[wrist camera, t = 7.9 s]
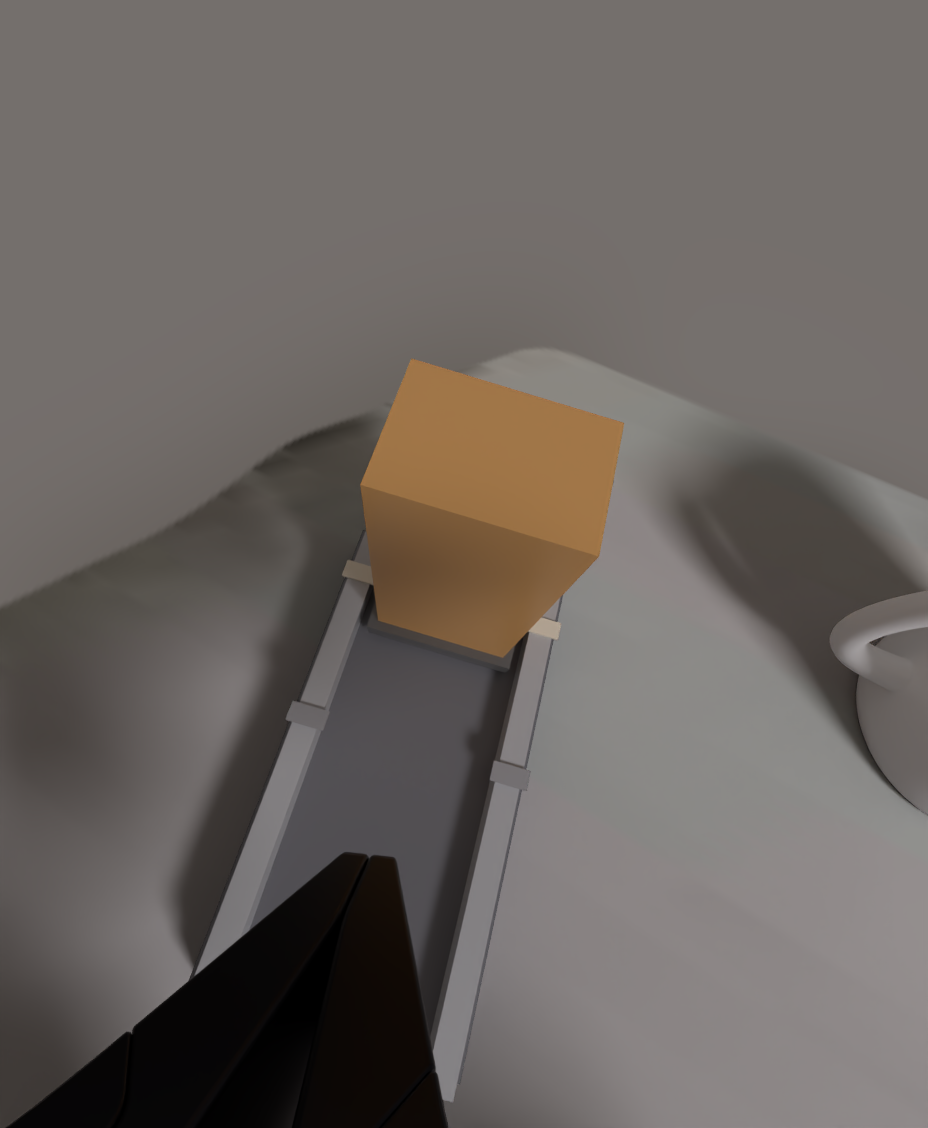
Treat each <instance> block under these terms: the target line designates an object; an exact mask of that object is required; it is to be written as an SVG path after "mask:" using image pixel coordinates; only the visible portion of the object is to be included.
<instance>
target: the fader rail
mask: <svg viewBox="0 0 928 1128" xmlns="http://www.w3.org/2000/svg"><path fill="white" fill-rule="evenodd" d="M342 576H343V577H345V579H344V581H343V584H342V586H341V589H340V591H339V594H338V597H337V599H336V602H335V604H334V607H333V610H332V612H331V615H330V617H329V620H328V622H327V625H326V628H325V630H324V633H323V635H322V638H321V640H320V643H319V646H318V648H317V651H316V653H315V656H314V659H313V661H312V664H311V666H310V669H309V671H308V674H307V677H306V679H305V682H304V684H303V687H302V690H301V692H300V695H299V697H298V700H297V702H296V701H292V704H291V706H290V709H289V711H288V714H287V716H286V719H285V720H287V721H289V723H288V726H287V728H286V731H285V733H284V736H283V739H282V741H281V744H280V746H279V749H278V752H277V754H276V757H275V759H274V762H273V764H272V767H271V770H270V772H269V775H268V777H267V780H266V782H265V785H264V788H263V790H262V793H261V795H260V798H259V801H258V803H257V806H256V808H255V811H254V813H253V816H252V819H251V821H250V824H249V826H248V829H247V832H246V834H245V837H244V839H243V842H242V844H241V847H240V850H239V852H238V855H237V857H236V860H235V863H234V865H233V868H232V870H231V873H230V875H229V878H228V881H227V883H226V886H225V888H224V891H223V894H222V896H221V899H220V901H219V904H218V906H217V909H216V912H215V914H214V917H213V919H212V922H211V925H210V927H209V930H208V932H207V935H206V937H205V940H204V943H203V945H202V948H201V950H200V953H199V955H198V958H197V961H196V963H195V966H194V968H193V971H192V974H191V976H190V979H192V978H193V977H194V976H195V975H196V974H198V973H199V972H200V971H201V970H202V969H204V968H205V967H206V966H207V965H208V964H210V963H211V962H212V961H213V960H214V959H216V958H217V957H218V956H219V955H220V954H222V953H223V952H224V951H225V950H226V949H228V948H229V947H230V946H231V945H232V944H233V943H235V942H236V941H237V940H238V939H239V938H241V937H242V936H243V935H244V934H245V933H247V932H248V931H249V930H250V929H251V928H253V927H254V926H255V925H256V924H257V923H259V922H260V921H261V920H262V919H263V918H265V917H266V916H267V915H268V914H269V913H271V912H272V911H273V910H274V909H275V908H277V907H278V906H279V905H280V904H281V903H283V902H284V901H285V900H286V899H287V898H289V897H290V896H291V895H292V894H293V893H295V892H296V891H297V890H298V889H299V888H301V887H302V886H303V885H304V884H305V883H307V882H308V881H309V880H310V879H311V878H313V877H314V876H315V875H316V874H317V873H319V872H320V871H321V870H322V869H323V868H325V867H326V866H327V865H328V864H329V863H331V862H332V861H333V860H334V859H335V858H336V857H338V856H339V855H340V854H342V853H344V852H354V853H363V854H367V855H368V856H369V858H370V857H371V856H372V855H382V856H391V857H394V858H396V860H397V865H398V870H399V875H400V880H401V886H402V891H403V896H404V902H405V907H406V912H407V918H408V923H409V928H410V933H411V939H412V944H413V949H414V955H415V960H416V965H417V970H418V976H419V981H420V986H421V992H422V997H423V1002H424V1007H425V1013H426V1018H427V1023H428V1029H429V1034H430V1039H431V1044H432V1050H433V1055H434V1060H435V1066H436V1073H437V1074H438V1078H439V1083H440V1088H441V1094H442V1099H443V1100H446V1101H449V1102H453V1100H454V1095H455V1091H456V1086H457V1084H460V1081H461V1077H462V1072H463V1067H464V1062H465V1058H466V1053H467V1048H468V1043H469V1039H470V1034H471V1029H472V1024H473V1020H474V1015H475V1010H476V1005H477V1001H478V996H479V991H480V986H481V982H482V977H483V972H484V967H485V963H486V958H487V953H488V948H489V944H490V939H491V934H492V929H493V925H494V920H495V915H496V911H497V906H498V901H499V896H500V892H501V887H502V882H503V877H504V873H505V868H506V863H507V858H508V854H509V849H510V844H511V839H512V835H513V830H514V825H515V820H516V816H517V811H518V806H519V801H520V797H521V792H522V790H524V791H527V786H528V782H529V777H530V772H531V771H529V770H526V768H527V763H528V759H529V754H530V749H531V744H532V740H533V735H534V730H535V725H536V721H537V716H538V711H539V706H540V702H541V697H542V692H543V687H544V683H545V678H546V673H547V668H548V664H549V659H550V654H551V649H552V645H553V640H558V637H559V632H560V627H561V623H558V622H557V621H558V616H559V612H560V607H561V602H562V597H563V595H562V596H561V597H560V598H559V599H558V600H557V601H556V602H555V603H554V605H553V606H552V607H551V608H550V609H549V610H548V611H547V612H546V613H545V614H544V615H543V616H542V617H541V618H540V619H539V620H538V621H537V622H536V624H535V625H534V626H533V627H532V628H531V629H530V630H529V631H528V632H527V633H526V634H525V635H524V636H523V637H522V638H521V639H520V640H519V641H518V643H517V644H516V645H515V648H514V652H513V656H512V660H511V664H510V669H509V670H508V671H507V672H505V673H503V672H500V671H497V670H493V669H490V668H487V667H483V666H480V665H477V664H473V663H470V662H466V661H463V660H460V659H456V658H453V657H450V656H446V655H443V654H440V653H436V652H433V651H430V650H426V649H423V648H419V647H416V646H413V645H409V644H406V643H403V642H399V641H396V640H393V639H389V638H386V637H383V636H379V635H376V634H373V633H369V632H368V631H367V624H368V621H369V618H370V615H371V613H372V610H373V607H374V604H375V593H374V585H373V578H372V570H371V563H370V555H369V547H368V540H367V532H366V531H365V530H363V532H362V535H361V537H360V540H359V542H358V545H357V548H356V550H355V553H354V555H353V558H352V560H347V563H346V565H345V568H344V571H343V573H342ZM190 979H189V980H190Z"/></svg>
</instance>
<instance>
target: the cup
mask: <svg viewBox="0 0 928 1128" xmlns="http://www.w3.org/2000/svg"><path fill="white" fill-rule="evenodd" d="M886 635H887V636H886ZM883 636H886V637H884V638H883V639H882V640H881V641H880V642H879V643H878V644H877V645H876V646H874V645H872V644H870V643H869V642H871V641H873V640H875V639H878V638H880V637H883ZM830 646H831V649H832V651H833V653H834V654H835V656H836V657H837V659H838V660H839V661H840V662H841V663H842V664H844V665H845V666H846V667H847V668H849V669H850V670H852V671H854V672H855V673H857V674H859V677H858V682H857V690H856V705H857V714H858V719H859V723H860V727H861V730H862V734H863V736H864V739H865V741H866V744H867V746H868V748H869V750H870V752H871V754H872V756H873V758H874V760H875V762H876V763H877V765H878V766H879V768H880V769H881V771H882V772H883V774H884V775H885V776H886V777H887V779H888V780H889V781H890V782H891V784H892V785H893V786H894V787H895V788H896V789H897V790H898V791H899V792H900V793H901V794H902V795H903V796H904V797H905V798H906V799H907V800H908V801H910V802H911V803H912V804H913V805H914V806H915V807H917V808H918V809H919V810H921V811H922V812H924V813H925V814H926V815H928V590H927V591H922V592H916V593H912V594H907V595H903V596H899V597H895V598H891V599H888V600H884V601H881V602H878V603H875V604H872V605H869V606H866V607H864V608H861V609H859V610H857V611H854V612H853V613H851V614H849V615H847V616H846V617H845V618H843V619H842V620H841V621H839V622H838V623H837V624H836V625H835V626H834V628H833V630H832V632H831V634H830Z"/></svg>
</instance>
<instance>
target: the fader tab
mask: <svg viewBox="0 0 928 1128" xmlns="http://www.w3.org/2000/svg"><path fill="white" fill-rule="evenodd" d="M623 426H624V423H623V422H619V421H616V420H613V419H609V418H606V417H603V416H599V415H596V414H593V413H590V412H586V411H583V410H580V409H576V408H573V407H570V406H566V405H563V404H560V403H557V402H553V401H550V400H547V399H543V398H540V397H537V396H534V395H530V394H527V393H524V392H520V391H517V390H514V389H510V388H507V387H504V386H501V385H497V384H494V383H491V382H487V381H484V380H481V379H477V378H474V377H471V376H468V375H464V374H461V373H458V372H454V371H451V370H448V369H444V368H441V367H438V366H435V365H431V364H428V363H424V362H421V361H418V360H415V359H411V361H410V364H409V366H408V368H407V371H406V373H405V376H404V378H403V381H402V383H401V386H400V388H399V391H398V393H397V395H396V398H395V400H394V403H393V405H392V408H391V410H390V413H389V415H388V418H387V420H386V423H385V425H384V428H383V430H382V432H381V435H380V437H379V440H378V442H377V445H376V447H375V450H374V452H373V455H372V457H371V460H370V462H369V465H368V467H367V469H366V472H365V474H364V477H363V479H362V482H361V484H360V486H361V494H362V501H363V509H364V517H365V524H366V532H367V540H368V547H369V555H370V563H371V570H372V578H373V585H374V593H375V604H374V607H373V610H372V613H371V615H370V618H369V621H368V624H367V631H368V632H369V633H373V634H376V635H379V636H383V637H386V638H389V639H393V640H396V641H399V642H403V643H406V644H409V645H413V646H416V647H419V648H423V649H426V650H430V651H433V652H436V653H440V654H443V655H446V656H450V657H453V658H456V659H460V660H463V661H466V662H470V663H473V664H477V665H480V666H483V667H487V668H490V669H493V670H497V671H500V672H503V673H505V672H507V671H508V670H509V669H510V664H511V660H512V656H513V652H514V648H515V645H516V644H517V643H518V641H519V640H520V639H521V638H522V637H523V636H524V635H525V634H526V633H527V632H528V631H529V630H530V629H531V628H532V627H533V626H534V625H535V624H536V622H537V621H538V620H539V619H540V618H541V617H542V616H543V615H544V614H545V613H546V612H547V611H548V610H549V609H550V608H551V607H552V606H553V605H554V603H555V602H556V601H557V600H558V599H559V598H560V597H561V596H562V595H563V594H564V593H565V592H566V591H567V590H568V589H569V588H570V587H571V586H572V584H573V583H574V582H575V581H576V580H577V579H578V578H579V577H580V576H581V575H582V574H583V573H584V572H585V571H586V570H587V569H588V568H589V567H590V566H591V564H592V563H593V562H594V561H595V560H596V559H597V558H598V557H599V554H600V549H601V543H602V538H603V533H604V528H605V522H606V517H607V512H608V506H609V501H610V496H611V490H612V485H613V480H614V474H615V469H616V464H617V458H618V453H619V448H620V442H621V437H622V432H623Z"/></svg>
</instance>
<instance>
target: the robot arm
mask: <svg viewBox="0 0 928 1128" xmlns="http://www.w3.org/2000/svg"><path fill="white" fill-rule="evenodd" d="M6 1128H448V1123H447V1119H446V1114H445V1110H444V1104H443V1099H442V1094H441V1088H440V1083H439V1078H438V1074H437V1073H436V1066H435V1060H434V1055H433V1050H432V1044H431V1039H430V1034H429V1029H428V1023H427V1018H426V1013H425V1007H424V1002H423V997H422V992H421V986H420V981H419V976H418V970H417V965H416V960H415V955H414V949H413V944H412V939H411V933H410V928H409V923H408V918H407V912H406V907H405V902H404V896H403V891H402V886H401V880H400V875H399V870H398V865H397V860H396V858H394V857H391V856H382V855H372V856H371V857H370V858H369V856H368V855H367V854H363V853H354V852H344V853H342V854H340V855H339V856H338V857H336V858H335V859H334V860H333V861H332V862H331V863H329V864H328V865H327V866H326V867H325V868H323V869H322V870H321V871H320V872H319V873H317V874H316V875H315V876H314V877H313V878H311V879H310V880H309V881H308V882H307V883H305V884H304V885H303V886H302V887H301V888H299V889H298V890H297V891H296V892H295V893H293V894H292V895H291V896H290V897H289V898H287V899H286V900H285V901H284V902H283V903H281V904H280V905H279V906H278V907H277V908H275V909H274V910H273V911H272V912H271V913H269V914H268V915H267V916H266V917H265V918H263V919H262V920H261V921H260V922H259V923H257V924H256V925H255V926H254V927H253V928H251V929H250V930H249V931H248V932H247V933H245V934H244V935H243V936H242V937H241V938H239V939H238V940H237V941H236V942H235V943H233V944H232V945H231V946H230V947H229V948H228V949H226V950H225V951H224V952H223V953H222V954H220V955H219V956H218V957H217V958H216V959H214V960H213V961H212V962H211V963H210V964H208V965H207V966H206V967H205V968H204V969H202V970H201V971H200V972H199V973H198V974H196V975H195V976H194V977H193V978H192V979H190V980H189V981H188V982H187V983H186V984H184V985H183V986H182V987H181V988H180V989H178V990H177V991H176V992H175V993H174V994H172V995H171V996H170V997H169V998H168V999H166V1000H165V1001H164V1002H163V1003H162V1004H160V1005H159V1006H158V1007H157V1008H156V1009H154V1010H153V1011H152V1012H151V1013H150V1014H148V1015H147V1016H146V1017H145V1018H144V1019H142V1020H141V1021H140V1022H139V1023H138V1024H136V1025H135V1026H134V1028H133V1030H132V1034H131V1032H126V1033H124V1034H123V1035H122V1036H121V1037H119V1038H118V1039H117V1040H116V1041H115V1042H113V1043H112V1044H111V1045H110V1046H109V1047H107V1048H106V1049H105V1050H104V1051H103V1052H101V1053H100V1054H99V1055H98V1056H97V1057H95V1058H94V1059H93V1060H92V1061H90V1062H89V1063H88V1064H87V1065H85V1066H84V1067H83V1068H82V1069H80V1070H79V1071H78V1072H77V1073H75V1074H74V1075H73V1076H72V1077H70V1078H69V1079H68V1080H67V1081H66V1082H64V1083H63V1084H62V1085H61V1086H59V1087H58V1088H57V1089H56V1090H54V1091H53V1092H52V1093H51V1094H49V1095H48V1096H47V1097H46V1098H44V1099H43V1100H42V1101H41V1102H39V1103H38V1104H37V1105H36V1106H34V1107H33V1108H32V1109H30V1110H29V1111H28V1112H26V1113H25V1114H24V1115H22V1116H21V1117H20V1118H18V1119H17V1120H16V1121H14V1122H13V1123H12V1124H10V1125H9V1126H8V1127H6Z"/></svg>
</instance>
